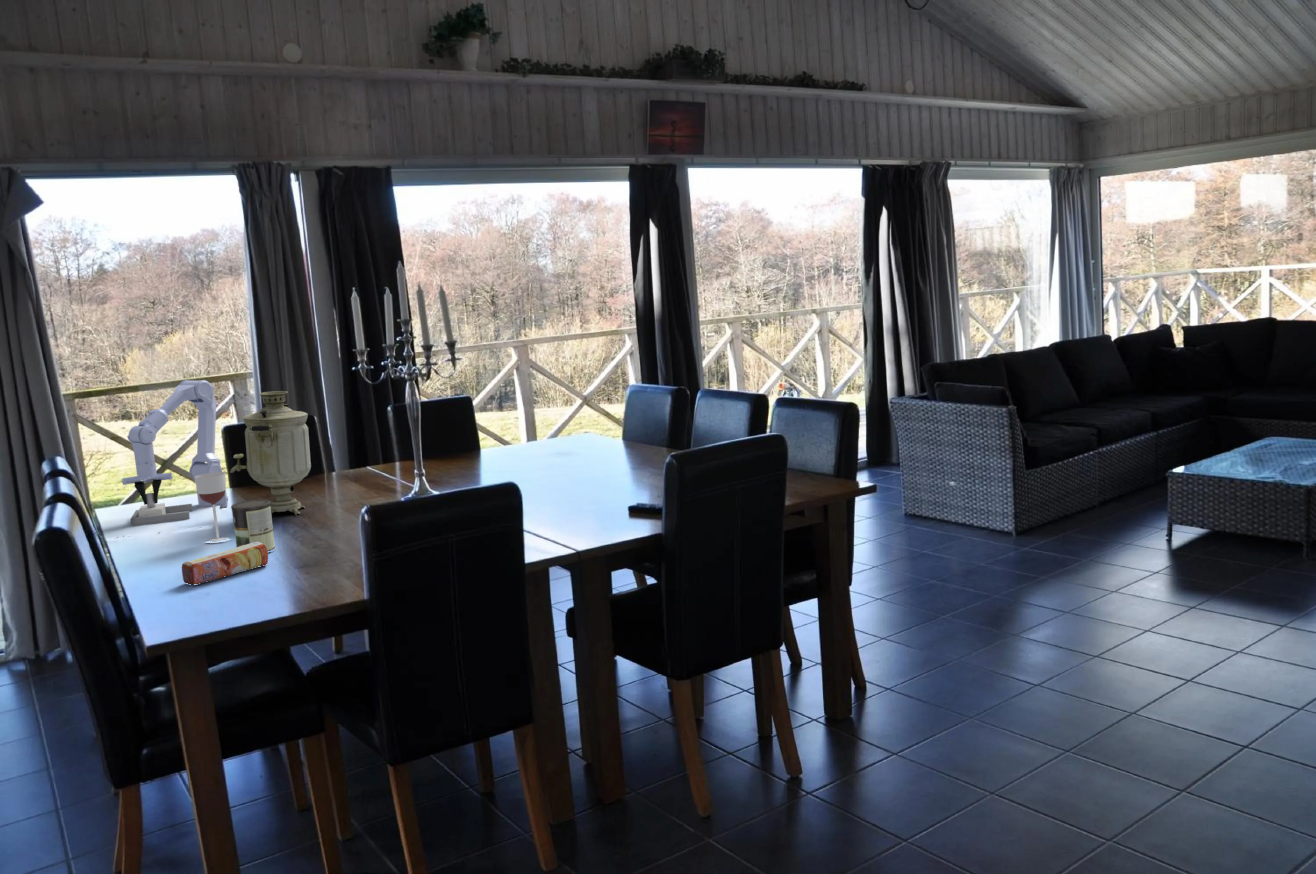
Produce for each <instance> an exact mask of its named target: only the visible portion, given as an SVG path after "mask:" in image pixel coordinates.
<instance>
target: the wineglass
mask: <svg viewBox="0 0 1316 874" xmlns="http://www.w3.org/2000/svg"><path fill="white" fill-rule="evenodd" d="M226 479H227V478H226V472H224V471H222V472H214V473H206V474H201V475H197V476H195V482H194V483H195V487H197V489H196V492H197V491H198V494H199V496H200V498H201V499H202V500H203V501H205V502H207V503H210V504H212V506H211V507H212V511H213V512H212V513H213V521H214V529H215V534H216V535H215V538H212V540H211V539H210V540H211V541H212V542H217V541H221V540H227V539H226V538H227V537H220V532H219V527H218V526H219V525H218V524H219V523H218V517H217V509H216V505H215V504H216V503H217V502H218V501H219V500H221V499H222V498H223V497H224V495H225V490H226V491H227V487H226V485H227V483H226ZM216 538H217V539H216ZM211 541H210V542H211Z"/></svg>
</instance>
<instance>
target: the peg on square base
mask: <svg viewBox="0 0 1316 874" xmlns="http://www.w3.org/2000/svg"><path fill="white" fill-rule="evenodd" d="M146 501H147V505H141V506H140V508H139V509H137V510H138V515H139V517H145V516H153V515H161V514H166V510H165V507H166V504H165V502H164V503H156V504H155V503H154V492H148V493H146Z"/></svg>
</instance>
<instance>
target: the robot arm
mask: <svg viewBox="0 0 1316 874" xmlns="http://www.w3.org/2000/svg"><path fill="white" fill-rule="evenodd" d="M214 395H215V394H214V386H213V385H212V384H211V383H210V382H209V381H207V380H205V379H203V380H201V379H200V380H189V379H187V380H185V379H184V380H182V381H181V382H180V383H179V384H178V385H177V386H176V387H175V390H174V392H172V394H171V395H170V396H169V397H168V398H167V400H166V401H165V402H164V403H163V404H162V405H161V406H160V407H159V408H154V409H153V410H149V411H148V413H147V414H148V415H146V416H145V418H143V420H140V421H139V422H138V424H137V425H135V426H132V427H131V428H130V430H129V432H128V435H127V440H128V441H129V443H130V444H131V446H132V447H131V448H132V449H133V454H134V455H133V456H134V461H135V468H136V475H135V476H129V477H128V476H127V477H123V478H122V479H121V480H122V481H121V482H122V485H123V486H125V485H130V484H131V485H133V484H134V487H135V489H136V490H137V492H138V494H139V495H140V497H141V499H142V501H143V506H145V505H147V501H146V494H147V493H146V485H145V483H148V482H149V483H150V482H152V483H151V486H152V491H153V492H152V493H154V503H155V504H159V503H158V499H159V498H158V497H159V491H160V488H161V485H162V481H165V480H166V481H167V480H169V481H170V480H171V481H172V480H173V479H174V478H173V472H166V473H165V472H163V473H157V467H156V459H155V458H156V457H155V453H154V445H153V442H155V440H156V438H157V434H158V432H159V431H160V430H162V428H163V427H164V426H165V425H166V424H167V423H168V421H169V416H170V415H171V414H172V413H173V412H175V410H177V408H179V407H180V406H181V405H182V404H183V403H185V402H187V401H188V402H191V403H192V404H194V405H195V406H196V408H198V413H197V416H198V417H197V418H198V420H197V443H196V444H197V448H196V449H197V451H196V455H195V456H194V457H193V458H192V459H191V465H190V467H189V476H190V478H191V479H192V480H193V481H194V483H195V476H197V475H201V474H206V473H214V472H223V468H222V466H221V459H220V458H219V457H218V456H217V455H216V454H215V453H216V452H215V450H216V446H215V445H216V421H217V420H216V416H217V402H216V399H215V396H214ZM195 487H196V486H195ZM227 494H228V493H227V489H226V490H225V495H224V497H223V498H222V499H221V500H219V501H218V502H217V503H216V504H215V506H217V505H219V509H221V508H227V507H228V503H229V496H228V495H227ZM196 495H197V504H198V506H199V507H213V506H212V504H210V503H207V502H205V501H203V500H202V499H201V498H200V496H199V494H198V491H197V487H196Z"/></svg>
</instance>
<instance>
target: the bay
mask: <svg viewBox="0 0 1316 874" xmlns="http://www.w3.org/2000/svg"><path fill="white" fill-rule="evenodd" d="M138 510H139V509H137V510H136V509H135V511H134V512H133V514H132V516H131V517H130V523H131V524H130V525H131V527H135V526H143V525H150V524H151V525H152V524H160V523H166V522H167V523H168V522H177V521H183V520H190V519H191V516H190V512H193V510H194V509H193V503H186V504H178V505H177V504H176V505H170V506H165V510H166V514H161V515H153V516H145V517H139V515H138Z"/></svg>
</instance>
